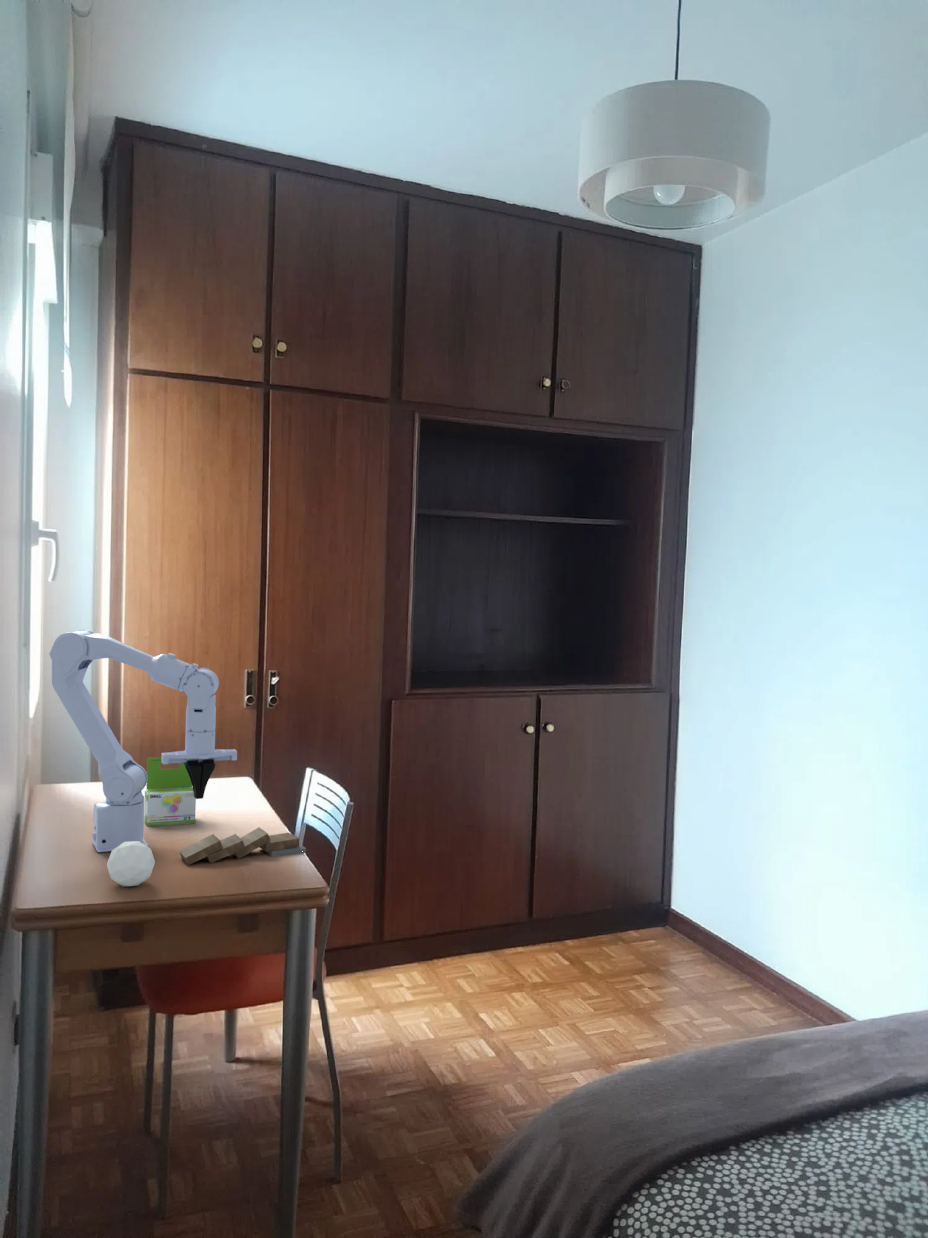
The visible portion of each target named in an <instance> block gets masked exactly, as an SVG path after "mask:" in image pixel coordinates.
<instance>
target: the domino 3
mask: <svg viewBox="0 0 928 1238" xmlns="http://www.w3.org/2000/svg"><path fill="white" fill-rule="evenodd" d="M269 836H270V835H269V833H268V832H267V831H266V830H264V829H262V828H261V827H260V826H259V827H257V828H255V829H254V830H252V831H249V832H248V833H246V834H245V835H243V836H242V837H240V838H241V839H242V840H243V842H244V846H245V848H244V849H242V850H239V851H237V852H235V853H233V854H232V855H233V856H235V857H236V858H237V859H238V860H240V859H241V858H243V857H245V856H246V855H248V854H251V852H253V851H255V850H257V849H258V848H259V849H260V846H262V845H264V844H265V843H267V842H269V841H270V837H269Z"/></svg>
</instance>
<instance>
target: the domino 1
mask: <svg viewBox="0 0 928 1238" xmlns="http://www.w3.org/2000/svg"><path fill="white" fill-rule="evenodd" d="M220 840H221V839H219V837H217V836H216V835H215V834H210V835H208V836H206V837H204V838H202V839H200V840H198V841H196V842H194V843H192V844H190V845H188V846H185V847H184V848H182V849H180V850H178V852H179V855H180V857H181V860H183V861H184V862H185V864H186V865H187V866H190V865H192V864H194V863H196V862H198V861H200V860H202V859H204V858H205V857H206V856H208V855H210V854H212V853H214V852H216V851H218V850H220V849H222V848H223V846H222V844H221V841H220Z"/></svg>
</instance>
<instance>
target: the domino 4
mask: <svg viewBox="0 0 928 1238" xmlns="http://www.w3.org/2000/svg"><path fill="white" fill-rule="evenodd" d="M269 837H270V841H269V842H267V843H265V844H264V845H262V846H260V847H259V849H261V850H263V851H265V853H267V851H273V850H279V849H285V848H291V847H297V846H299V844H300V837H298V836H297V835H294V834H292V833H290V832H282V833H278V834H270V835H269Z"/></svg>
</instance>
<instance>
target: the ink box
mask: <svg viewBox="0 0 928 1238" xmlns="http://www.w3.org/2000/svg"><path fill="white" fill-rule="evenodd" d="M146 760H147V761H146V773H147V783H146V786H145V787H146V789H145V790H144V824H146V826H147V827H159V826H160V827H161V826H174V825H175V826H176V825H188V824H189V825H192V824H196V808H197V807H196V803H197V801H196V800H197V799H196V798H195V797H194V792H193V787H192V783H191V780H190V777H189V774H188V772H187V770H186V767H185V765H184V763H179V765H180V767H178V768H161V765H163V764H162V763H161V757H158V756H157V757H147V759H146Z"/></svg>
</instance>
